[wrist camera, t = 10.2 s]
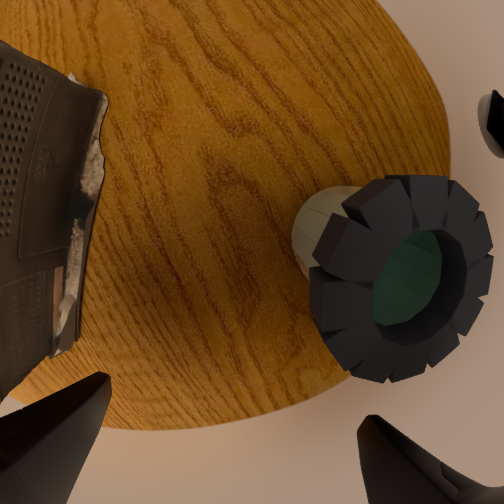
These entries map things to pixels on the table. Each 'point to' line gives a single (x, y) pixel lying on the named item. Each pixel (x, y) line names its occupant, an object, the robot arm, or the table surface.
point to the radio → (43, 208)
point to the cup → (395, 270)
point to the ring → (373, 261)
